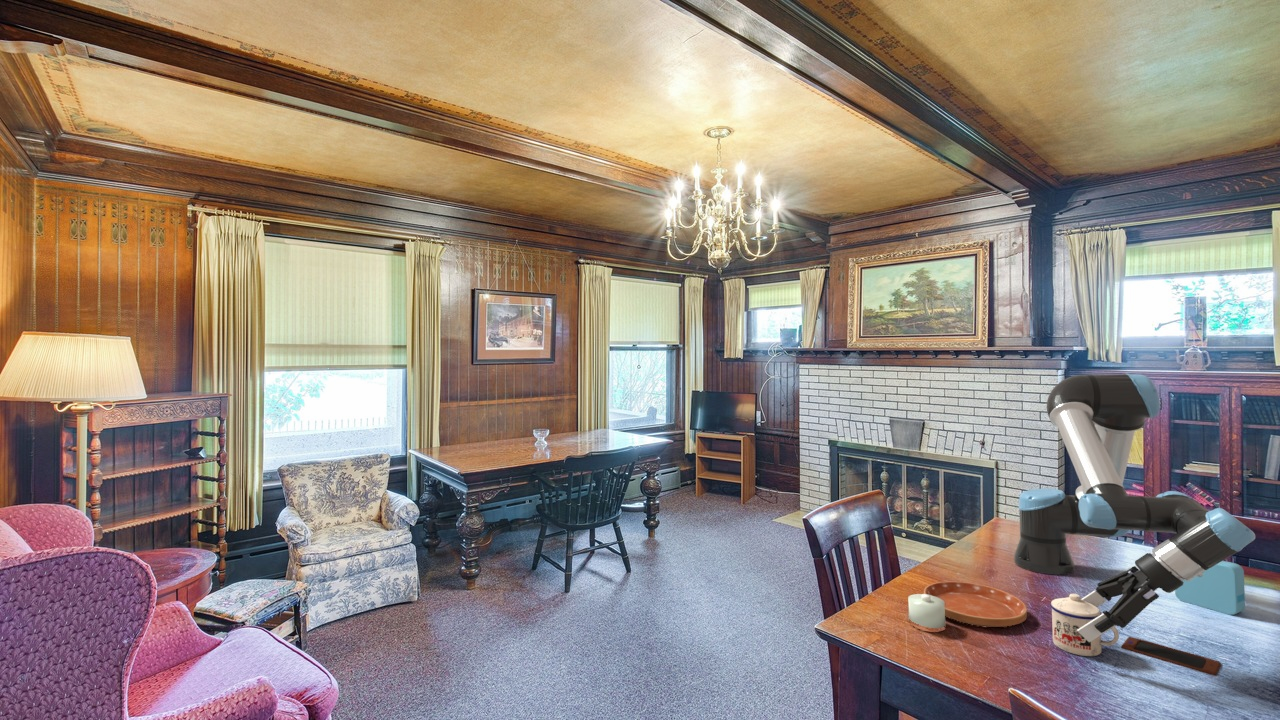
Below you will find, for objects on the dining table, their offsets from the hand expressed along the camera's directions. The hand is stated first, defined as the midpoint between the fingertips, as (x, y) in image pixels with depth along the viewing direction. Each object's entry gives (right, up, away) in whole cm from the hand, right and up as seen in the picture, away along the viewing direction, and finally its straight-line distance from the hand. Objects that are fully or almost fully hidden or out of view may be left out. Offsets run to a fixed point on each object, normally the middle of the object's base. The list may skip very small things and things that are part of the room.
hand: (1079, 623), depth 126 cm
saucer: (-12, -7, +20) cm, 24 cm away
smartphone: (+17, -6, -4) cm, 18 cm away
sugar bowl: (-27, -7, +13) cm, 31 cm away
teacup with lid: (+1, -6, 0) cm, 6 cm away
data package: (+48, -5, +19) cm, 52 cm away
